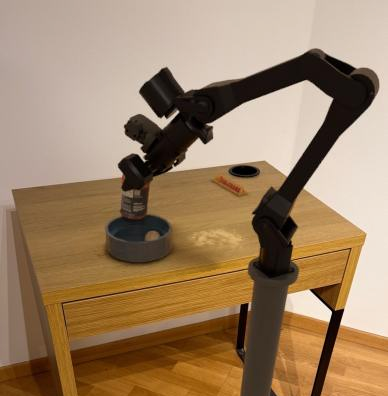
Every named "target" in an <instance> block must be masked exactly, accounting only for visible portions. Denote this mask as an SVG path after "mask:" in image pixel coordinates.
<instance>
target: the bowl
mask: <svg viewBox="0 0 388 396" xmlns="http://www.w3.org/2000/svg"><path fill="white" fill-rule="evenodd" d="M149 231H156V232H158V233H159V234H160V236H161V237H159V238H157V239H154V240H149V241H145V235H146V234H147V233H148V232H149ZM104 232H105V233H104V234H105V244H106V251H107V252H108V253H109V255H110V256H112V257H113V258H115V259H118V260H119V261H120V260H121V261H124V262H128V263H129V262H130V263H147V262H152V261H158V260H160V259H162V258H164V257H166V256H167V255H169V253H171V251H172V248H173V226H172V223H171V222H170V221H169V220H168V219H167V218H164V217H162V216H160V215H155V214H151V213H147V214H146V216H145V217H144V218H142V219H139V220H133V219H128V218H125V217H124V216H122V215H119V216H116V217H114V218H112V219H110V220H109V221H108V222H107V223H106V224H105V226H104Z"/></svg>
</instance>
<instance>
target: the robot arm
mask: <svg viewBox="0 0 388 396" xmlns="http://www.w3.org/2000/svg"><path fill="white" fill-rule="evenodd" d="M305 81H307V82H309V83H311V84H313V86H315V87H316V88H318V89H319V90H320V91H321V92H322V93H323V94H324V95H326V96H328V97H329V98H331V99H332V100H331V103H330V104H329V107H328V109H327V112H326V115H325V118H324V120H323V122H322V124H321V125H320V127H319V128H318V130H317V132H316V133H315V135H314V136H313V138H312V139H311V140H310V142H309V144H308V145H307V146H306V148H305V150H304V151H303V153H302V154H301V156H300V157H299V158H298V160H297V161H296V163H295V164H294V167H293V168H292V169H291V171H290V172H289V174H288V175H287V176H286V178H285V180H284V181H283V183H282V184H281V186H279V188H277V189H275V188H274V187H273V186H272V185H271V186H270V187H269V188H268V189H267V191H266V192H265V193H264V194H263V195H262V197H261V199H260V201H259V203H258V204H257V206H256V207H255V208H254V209H253V211H251V214H252V215H253V217H252V220H251V226H252V230H253V231H254V233H255V234H256V236H257V238H258V243H259V252H258V253H259V254H258V257H259V261H255V262H253V265H254V266H255V267H256V268H257V269H259V270H260V271H261V272H262V273H264V274H265V275H266V276H267V277H269V278H274V277H277V276H281V275H284V274H288V273H292V272H295V268H293V267H292V266H291V265H290V262H291V261H292V256H293V251H294V245H293V244H292V243H293V241H292V239H293V237H294V235H295V234H296V232H297V230H298V229H299V226H298V224H297V223H296V222H295V220H294V219H293V217H292V216H291V213H292V211H293V209H294V207H295V204H296V201H297V199H298V198H299V195H300V194H301V192H302V191H303V189H304V188H305V186H306V185H307V184H308V182H309V181H310V180H311V178H312V177H313V175H314V174H315V172H316V171H317V170H318V168H319V167H320V166H321V163H322V162H323V161H324V160H325V158H326V157H327V156H328V154H329V153H330V151H331V149H332V148H333V147H334V146H335V144H336V143H337V141H338V140H339V138H340V137H341V136H342V135H343V134H344V133H345V132H346V131H348V129H349V128H350V127H351V126H353V124H354V123H355V122H357V120H358V119H359V118H360V117H361V116H363V114H364V113H365V112H366V111H367V110H368V109H369V108H370V107H371V105H372V104H373V102H374V100H375V99H376V97H377V95H378V93H379V91H380V79H379V76H378V74H377V72H375V71H374V70H373V69H372V68H369V67H363V66H362V67H359V68H357V67H356V66H353V65H352V64H350V63H348V62H346V61H343V60H341V59H338V58H336V57H334V56H331V55H330V54H328V53H326V52H325V51H324V50H323V49H321V48H316V47H314V48H310V49H308V50H307V51H305V52H303V53H302V54H299V55H298V56H295V57H292V58H290V59H287V60H285V61H282V62H280V63H277V64H275V65H272V66H269V67H267V68H265V69H262V70H260V71H257V72H255V73H253V74H250V75H248V76H245V77H240V78H234V79H225V80H220V81H215V82H211V83H209V84H207V85H205V86H203V87H201V88H199V89H198V88H197V89H196V88H195V89H193V88H191V89H189V90H188V91H185V90H184V89H183V88H182V86H181V85H180V84H179V82H178V81H177V79H176V77H174V75H173V73H172V71H171V70H170V68H169V67H168V66H165V67H162V68H161V69H160V70H159V71H158V72H157V73H155V74H154V75H153V76H152V77H151V78H150V79H149V80H146V81H145V82H144V83H143V84H142V86H140V87H139V88H140V89H139V90H138V94H139V95H140V96H141V98H142V99H143V101H144V102H145V103H146V104H147V105H148V107H149V108H150V109H151V111H152V112H153V114H155V116H156V117H157V118H158V119H160V120H161V119H163V118H165V120H169V119H170V118H172V116H174V114H176V113H177V112H178V113H177V114H176V115H175V116H174V117H173V118H172V119H171V120H170V121H169V122H168V123H167V124H166V126H164V127H163V128H161V127H160V126H159V125H158V124H157V123H156V122H154V121H153V120H152V119H151V118H149V117H147V116H146V115H145V114H142V113H138V114H137V113H136V114H135V115H133V116H130V117H129V119H127V122H126V123H125V124H124V125H123V128H124V131H123V132H124V135H125V136H126V137H128V138H129V139H130V140H132V141H133V142H137V143H138V144H140V145H141V146H140V147H139V149H140V150H141V151H142V153H143V154H144V155H143V156H142V157H141V156H140V154H139V153H130V154H128V155H126V156H125V157H122V158H121V160H120V161H119V162H118V163H117V168H118V170H119V171H120V172H121V173H122V175H123V174H124V176H125V179H124V182H123V184H122V186H121V185H120V190H121V189H122V190H123V191H124V192H126V191H129V190H133V189H136V190H138V191H139V190H141V189H142V188H144V187H145V186H147V185H148V184H150V185H151V182H152V181H154V178H156V177H158V176H161V175H164V174H166V173H168V172H170V171H172V170H173V169H174V168H177V166H179V165H181V164H182V163H183V162H184V161H185V160H186V155H187V154H186V153H187V152H188V149H189V148H190V147H192V145H193V144H194V143H196V142H197V141H198V140H200V142H201V143H202V144H203V145H207V144H208V143H210V142H211V141H213V140H214V126H213V125H209V124H212V123H214V122H216V121H218V120H219V119H221V118H222V117H224V116H225V115H227V114H229V113H231V112H232V111H234V110H235V109H236V108H238V107H240V106H241V105H243V104H246V103H248V102H250V101H253V100H256V99H259V98H261V97H265V96H267V95H270V94H273V93H275V92H278V91H281V90H283V89H286V88H288V87H291V86H294V85H297V84H299V83H302V82H305Z"/></svg>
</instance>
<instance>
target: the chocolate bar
mask: <svg viewBox="0 0 388 396" xmlns="http://www.w3.org/2000/svg"><path fill="white" fill-rule="evenodd" d="M213 182H214V183H215V184H217V185H219V186H220V187H222V188H223V189H226V190H227V191H229V192H231V193H233V194H234V195H236V196H238V197H240V196H244V195H247V192H246V190H245V187H244V186H242V185H241V184H239V183H237V182H236V181H234V180H231V179H230V178H228V177H226V176H224V175H223V174H221V173H219V172H217V174H216V176H215V178H214V180H213Z"/></svg>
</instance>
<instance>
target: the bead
mask: <svg viewBox="0 0 388 396" xmlns="http://www.w3.org/2000/svg"><path fill="white" fill-rule="evenodd" d="M159 237H161V236H160V234H159V233H158V232H156V231H149V232H148V233H147V234H146V235H145V241H149V240H154V239H157V238H159Z"/></svg>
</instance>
